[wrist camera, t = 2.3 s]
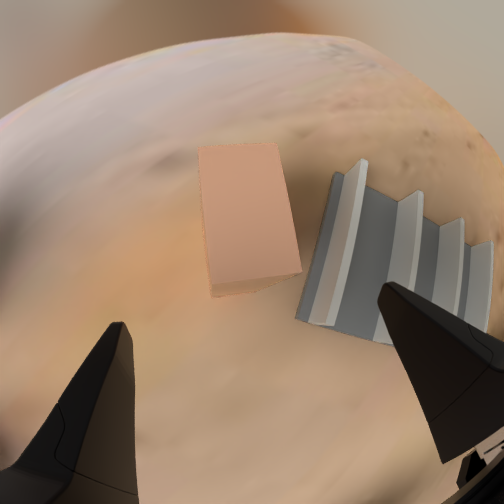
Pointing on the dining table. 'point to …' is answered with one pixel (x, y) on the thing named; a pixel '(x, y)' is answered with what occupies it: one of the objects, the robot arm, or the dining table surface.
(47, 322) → the dining table surface
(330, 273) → the rack
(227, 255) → the salmon rectangular block
